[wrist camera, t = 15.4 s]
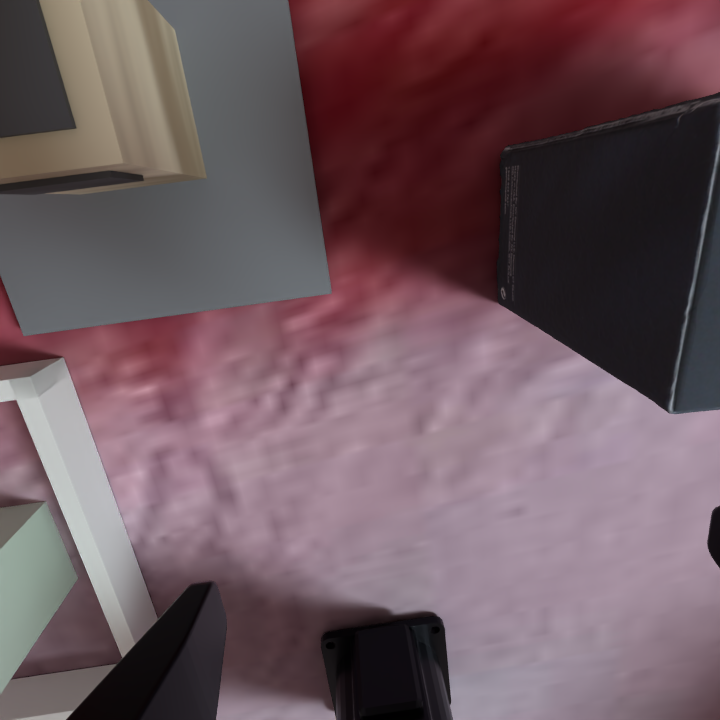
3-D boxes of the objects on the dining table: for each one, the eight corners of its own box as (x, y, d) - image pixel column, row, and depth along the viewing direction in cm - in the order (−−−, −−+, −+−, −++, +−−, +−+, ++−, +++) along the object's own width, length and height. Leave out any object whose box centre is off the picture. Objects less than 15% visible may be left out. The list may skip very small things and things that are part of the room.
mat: (331, 290, 19) (331, 293, 18) (33, 331, 18) (23, 335, 18) (263, -166, 14) (260, -181, 13) (-136, -117, 14) (-156, -130, 13)
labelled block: (174, 29, 15) (46, -111, 8) (208, 182, 16) (122, 170, 10) (35, 47, 15) (-212, -82, 8) (81, 199, 16) (-93, 197, 10)
